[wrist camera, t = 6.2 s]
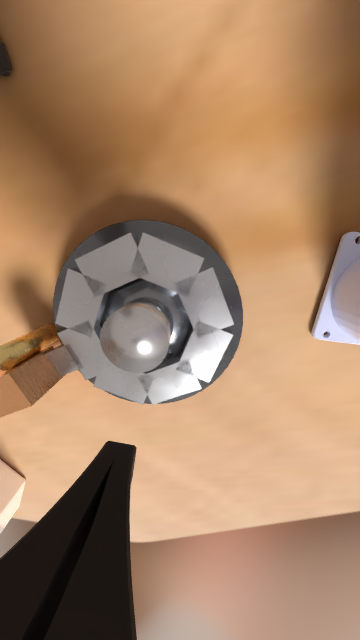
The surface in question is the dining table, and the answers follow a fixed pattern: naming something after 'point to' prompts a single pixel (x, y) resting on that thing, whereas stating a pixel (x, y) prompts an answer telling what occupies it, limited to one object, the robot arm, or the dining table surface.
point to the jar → (9, 493)
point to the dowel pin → (26, 346)
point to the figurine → (4, 61)
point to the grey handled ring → (84, 326)
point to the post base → (153, 305)
